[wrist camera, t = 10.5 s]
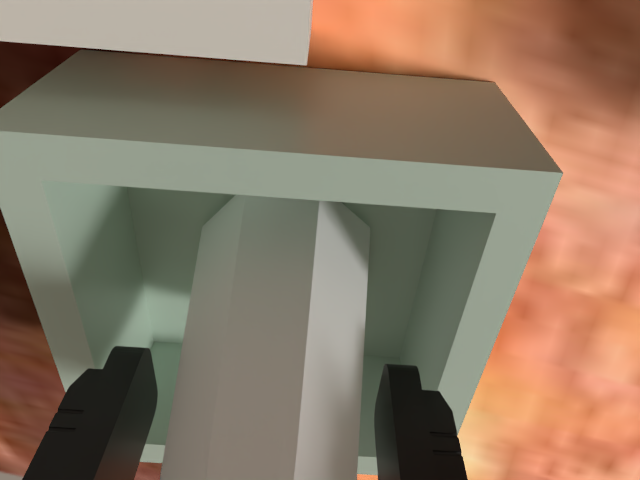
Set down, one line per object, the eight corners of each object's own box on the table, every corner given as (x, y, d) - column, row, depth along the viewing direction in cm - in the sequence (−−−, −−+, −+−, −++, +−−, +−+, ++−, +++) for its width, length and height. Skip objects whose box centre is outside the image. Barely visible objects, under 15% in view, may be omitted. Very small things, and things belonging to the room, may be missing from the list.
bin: (80, 49, 13) (-28, 128, 9) (495, 82, 14) (562, 172, 10) (138, 338, 20) (89, 458, 16) (418, 356, 20) (439, 478, 16)
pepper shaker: (336, 148, 14) (348, 657, 5) (397, 287, 17) (473, 762, 8) (166, 211, 15) (-66, 703, 6) (250, 330, 18) (174, 779, 9)
